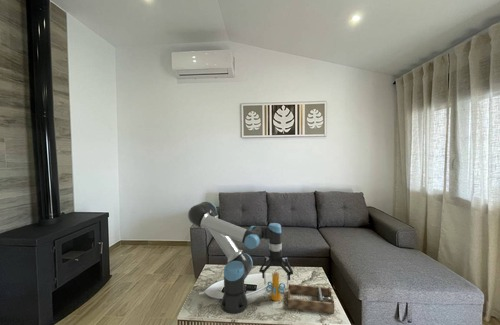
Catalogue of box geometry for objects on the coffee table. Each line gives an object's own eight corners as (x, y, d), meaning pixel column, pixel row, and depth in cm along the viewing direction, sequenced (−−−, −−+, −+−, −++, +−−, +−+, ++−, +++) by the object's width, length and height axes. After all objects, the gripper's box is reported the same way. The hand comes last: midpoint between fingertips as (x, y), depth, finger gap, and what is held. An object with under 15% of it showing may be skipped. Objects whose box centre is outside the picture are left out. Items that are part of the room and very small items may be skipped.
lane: (287, 307, 130) (287, 297, 130) (288, 291, 146) (288, 282, 146) (334, 313, 125) (334, 302, 125) (329, 295, 141) (329, 286, 141)
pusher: (320, 309, 128) (320, 299, 128) (318, 295, 141) (318, 286, 141) (334, 311, 127) (334, 301, 127) (331, 296, 140) (331, 287, 139)
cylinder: (269, 305, 133) (269, 279, 132) (263, 294, 143) (263, 271, 143) (288, 301, 136) (288, 276, 136) (281, 291, 146) (281, 268, 146)
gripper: (254, 250, 138) (255, 285, 138) (296, 253, 133) (297, 289, 133) (256, 246, 145) (257, 279, 145) (296, 248, 140) (297, 282, 140)
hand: (276, 284), depth 139 cm, fingers open, 13 cm apart
